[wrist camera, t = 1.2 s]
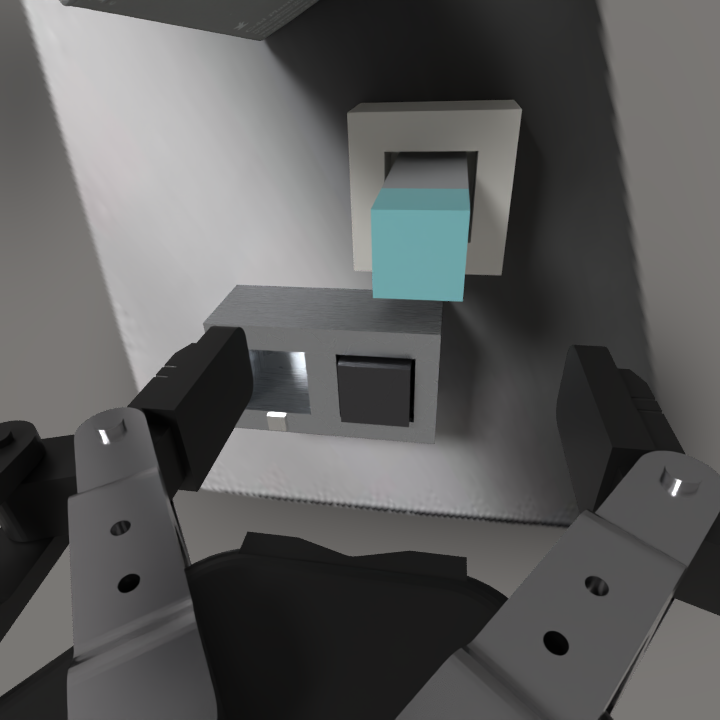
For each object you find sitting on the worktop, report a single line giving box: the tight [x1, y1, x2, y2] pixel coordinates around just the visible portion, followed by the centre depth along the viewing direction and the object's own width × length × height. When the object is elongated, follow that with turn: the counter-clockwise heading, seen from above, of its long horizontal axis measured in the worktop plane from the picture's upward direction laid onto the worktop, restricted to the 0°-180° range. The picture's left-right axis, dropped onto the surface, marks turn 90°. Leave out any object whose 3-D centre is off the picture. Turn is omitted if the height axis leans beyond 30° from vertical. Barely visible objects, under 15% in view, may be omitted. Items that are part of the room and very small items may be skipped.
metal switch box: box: [203, 285, 443, 444], centre depth 33 cm, size 8×14×6 cm, turn 92°
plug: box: [371, 151, 470, 302], centre depth 23 cm, size 4×4×11 cm
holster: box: [347, 100, 522, 275], centre depth 27 cm, size 8×8×4 cm
